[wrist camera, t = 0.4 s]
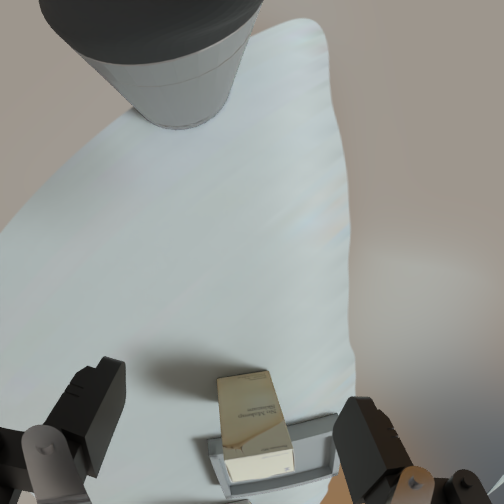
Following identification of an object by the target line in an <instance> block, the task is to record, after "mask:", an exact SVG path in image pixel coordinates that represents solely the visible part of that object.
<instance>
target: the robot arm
mask: <svg viewBox="0 0 504 504" xmlns="http://www.w3.org/2000/svg"><path fill="white" fill-rule="evenodd" d="M262 3H263V0H39V4H40V8H41V11H42V14H43V15H44V18H45V19H46V21H47V22H48V24H49V25H50V26H51V28H52V29H53V30H54V31H55V32H56V33H57V34H58V35H59V36H60V37H61V38H62V39H63V40H64V41H65V42H66V43H67V44H69V45H70V46H71V47H72V48H73V49H74V50H75V51H76V52H77V53H78V54H79V55H80V56H81V57H82V58H83V59H84V60H85V61H86V62H87V63H89V64H90V65H91V66H92V67H93V68H94V69H95V70H97V72H98V73H99V74H101V75H102V76H103V77H104V78H105V79H106V80H107V81H108V82H109V83H110V84H111V85H112V86H113V87H114V88H115V89H116V90H117V91H118V92H119V93H120V94H121V95H122V96H123V97H124V98H126V100H127V101H129V102H130V103H131V104H132V105H133V106H134V107H135V108H136V109H137V110H138V111H139V112H140V113H141V114H142V115H143V116H144V117H145V118H146V119H147V120H148V121H150V122H152V123H153V124H155V125H157V126H160V127H162V128H166V129H173V130H182V129H189V128H193V127H197V126H199V125H201V124H203V123H205V122H207V121H208V120H210V119H211V118H213V117H214V116H215V115H216V114H217V113H218V112H219V111H220V110H221V109H222V107H223V106H224V104H225V102H226V101H227V98H228V96H229V93H230V90H231V87H232V85H233V82H234V79H235V76H236V73H237V70H238V68H239V65H240V62H241V59H242V56H243V54H244V51H245V48H246V45H247V43H248V40H249V37H250V35H251V32H252V29H253V26H254V23H255V21H256V18H257V15H258V13H259V10H260V8H261V5H262ZM125 399H126V367H125V362H123V361H119V360H116V359H112V358H109V357H106V356H104V357H103V358H102V359H101V361H100V362H99V364H98V365H97V367H96V368H93V367H90V366H86V367H85V368H83V369H82V370H80V371H78V372H77V373H76V374H75V376H74V377H73V379H72V380H71V382H70V385H68V386H67V388H66V389H65V392H64V393H63V394H62V395H61V397H60V399H59V400H58V402H57V403H56V405H55V406H54V408H53V410H52V411H51V413H50V414H49V416H48V418H47V419H46V421H45V422H44V424H43V425H35V426H33V427H31V428H29V429H28V430H26V431H25V432H22V431H16V430H11V429H6V428H2V427H0V504H17V502H18V499H19V497H20V494H21V491H22V490H23V491H28V492H33V493H34V494H35V497H36V500H37V504H92V502H91V500H90V498H89V496H88V494H87V492H86V490H85V488H84V485H83V484H84V481H85V479H86V476H87V475H89V476H91V477H94V478H97V476H98V473H99V470H100V468H101V465H102V462H103V459H104V457H105V454H106V451H107V449H108V446H109V444H110V441H111V438H112V436H113V433H114V431H115V428H116V426H117V423H118V421H119V418H120V416H121V413H122V411H123V408H124V404H125ZM332 436H333V440H334V444H335V447H336V450H337V453H338V456H339V459H340V463H341V466H342V469H343V472H344V475H345V479H346V482H347V485H348V488H349V492H350V495H351V498H352V501H353V504H362V503H365V504H492V503H491V501H490V499H489V497H488V495H487V493H486V492H485V490H484V488H483V486H482V484H481V482H480V480H479V479H478V477H477V476H476V475H475V474H474V473H473V472H471V471H469V470H465V469H462V470H458V471H457V472H456V473H455V474H454V475H453V476H452V477H451V478H450V479H448V478H433V476H432V475H431V473H430V472H429V471H428V470H426V469H424V468H422V467H419V466H414V465H413V464H412V462H411V460H410V458H409V456H408V454H407V452H406V450H405V448H404V446H403V444H402V442H401V440H400V438H398V434H397V433H396V431H395V430H394V427H393V425H392V423H391V421H390V419H389V418H388V417H387V416H386V415H385V414H384V413H383V412H382V411H381V410H377V408H376V406H375V405H374V402H373V400H372V399H371V398H370V397H350V398H348V400H347V402H346V403H345V405H344V407H343V409H342V411H341V413H340V414H339V416H338V418H337V420H336V422H335V423H334V426H333V431H332Z"/></svg>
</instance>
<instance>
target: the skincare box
mask: <svg viewBox="0 0 504 504" xmlns="http://www.w3.org/2000/svg"><path fill="white" fill-rule="evenodd" d="M217 389H218V401H219V413H220V424H221V436H222V446H223V456H224V463H225V466H226V470H227V473H228V476H229V479H230V481H231V482H232V483H236V482H243V481H250V480H256V479H263V478H268V477H273V476H277V475H282V474H287V473H292V472H295V455H294V448H293V445H292V442H291V439H290V436H289V432H288V429H287V426H286V423H285V420H284V417H283V414H282V411H281V407H280V404H279V401H278V398H277V395H276V392H275V389H274V386H273V383H272V379H271V376H270V373H269V371H263V372H256V373H250V374H244V375H237V376H231V377H224V378H218V379H217Z"/></svg>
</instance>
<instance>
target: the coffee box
mask: <svg viewBox="0 0 504 504" xmlns="http://www.w3.org/2000/svg"><path fill="white" fill-rule="evenodd" d="M228 504H252V503H251V502H250V501H249V500H248V499H247V500H242V501H237V502H233V503H228Z"/></svg>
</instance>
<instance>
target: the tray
mask: <svg viewBox="0 0 504 504" xmlns="http://www.w3.org/2000/svg"><path fill="white" fill-rule="evenodd" d="M337 418H338V414H337V413H336V414H333V415H329V416H326V417H322V418H319V419H315V420H311V421H307V422H303V423H299V424H295V425H290V426H287V429H288V432H289V436H290V439H291V442H292V445H293V448H294V455H295V472H292V473H287V474H282V475H277V476H273V477H268V478H263V479H256V480H250V481H243V482H236V483H232V482H231V481H230V479H229V476H228V473H227V470H226V466H225V463H224V456H223V446H222V438H216V439H208V451H209V457H210V460H211V463H212V465H213V468H214V470H215V473H216V476H217V478H218V481H219V483H220V486H221V488H222V490H223V493H224V495H225V498H226V499H229V498H237V497H244V496H251V495H257V494H263V493H268V492H273V491H278V490H283V489H288V488H292V487H296V486H300V485H304V484H308V483H312V482H316V481H319V480H323V479H326V478H329V477H333V476H336V475H338V471H339V464H340V459H339V456H338V453H337V450H336V447H335V444H334V440H333V436H332V431H333V426H334V423H335V422H336V420H337Z"/></svg>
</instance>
